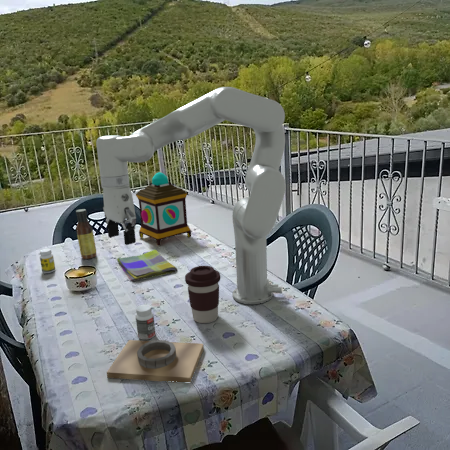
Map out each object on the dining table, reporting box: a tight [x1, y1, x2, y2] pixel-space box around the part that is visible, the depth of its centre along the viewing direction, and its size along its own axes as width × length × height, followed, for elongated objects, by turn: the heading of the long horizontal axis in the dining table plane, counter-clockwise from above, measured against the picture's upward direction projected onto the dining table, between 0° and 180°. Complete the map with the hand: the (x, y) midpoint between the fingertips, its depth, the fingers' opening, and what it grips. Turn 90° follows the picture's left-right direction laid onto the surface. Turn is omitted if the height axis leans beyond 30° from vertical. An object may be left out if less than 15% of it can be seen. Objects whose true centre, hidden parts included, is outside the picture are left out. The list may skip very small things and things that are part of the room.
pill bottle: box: [135, 304, 156, 341], centre depth 121 cm, size 5×5×8 cm
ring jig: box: [106, 339, 205, 383], centre depth 109 cm, size 20×14×4 cm
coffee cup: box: [184, 265, 221, 324], centre depth 128 cm, size 10×10×15 cm
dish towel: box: [116, 249, 178, 282], centre depth 170 cm, size 18×24×3 cm
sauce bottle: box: [75, 208, 98, 260], centre depth 181 cm, size 7×6×20 cm
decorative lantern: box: [135, 171, 192, 247], centre depth 198 cm, size 20×20×30 cm
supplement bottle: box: [39, 248, 56, 274], centre depth 170 cm, size 5×5×8 cm
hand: (121, 239), depth 128 cm, fingers open, 9 cm apart
